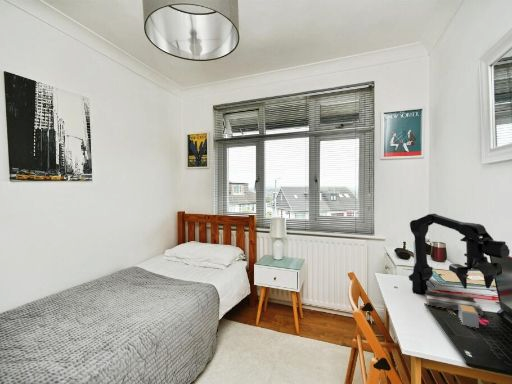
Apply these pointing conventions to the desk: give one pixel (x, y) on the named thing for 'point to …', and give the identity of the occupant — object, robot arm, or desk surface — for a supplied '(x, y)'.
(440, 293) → the rail board
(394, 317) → the desk surface
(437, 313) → the desk surface
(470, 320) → the module
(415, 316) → the desk surface
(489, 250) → the robot arm
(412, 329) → the desk surface
